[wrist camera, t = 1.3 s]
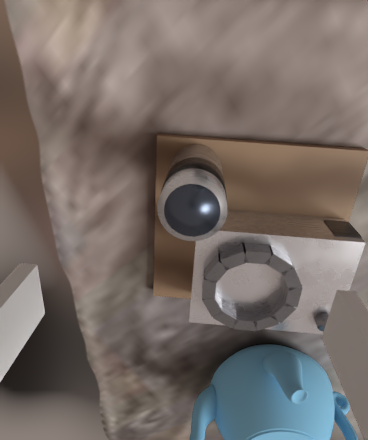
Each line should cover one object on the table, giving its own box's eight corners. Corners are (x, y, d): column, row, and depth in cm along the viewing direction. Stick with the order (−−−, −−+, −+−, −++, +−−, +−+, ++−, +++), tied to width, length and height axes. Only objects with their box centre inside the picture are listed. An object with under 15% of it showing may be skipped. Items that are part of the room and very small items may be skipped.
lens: (171, 141, 31) (157, 174, 22) (225, 145, 31) (232, 180, 22) (169, 191, 34) (155, 240, 24) (219, 195, 33) (224, 245, 24)
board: (158, 133, 32) (156, 135, 31) (364, 148, 32) (370, 151, 31) (154, 289, 41) (153, 295, 40) (318, 303, 40) (321, 310, 39)
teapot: (174, 375, 47) (164, 470, 36) (278, 305, 41) (305, 396, 29) (253, 433, 51) (266, 534, 40) (358, 378, 45) (408, 481, 34)
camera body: (198, 206, 34) (196, 235, 28) (344, 217, 34) (373, 250, 28) (191, 292, 39) (188, 333, 33) (318, 304, 38) (338, 347, 33)
